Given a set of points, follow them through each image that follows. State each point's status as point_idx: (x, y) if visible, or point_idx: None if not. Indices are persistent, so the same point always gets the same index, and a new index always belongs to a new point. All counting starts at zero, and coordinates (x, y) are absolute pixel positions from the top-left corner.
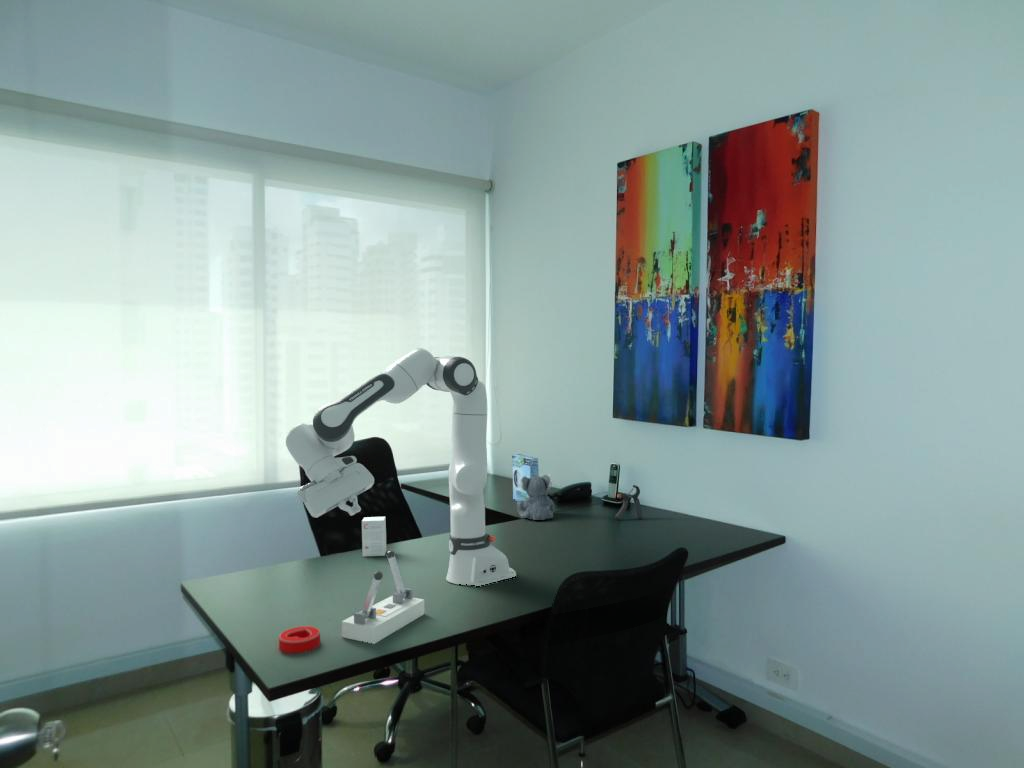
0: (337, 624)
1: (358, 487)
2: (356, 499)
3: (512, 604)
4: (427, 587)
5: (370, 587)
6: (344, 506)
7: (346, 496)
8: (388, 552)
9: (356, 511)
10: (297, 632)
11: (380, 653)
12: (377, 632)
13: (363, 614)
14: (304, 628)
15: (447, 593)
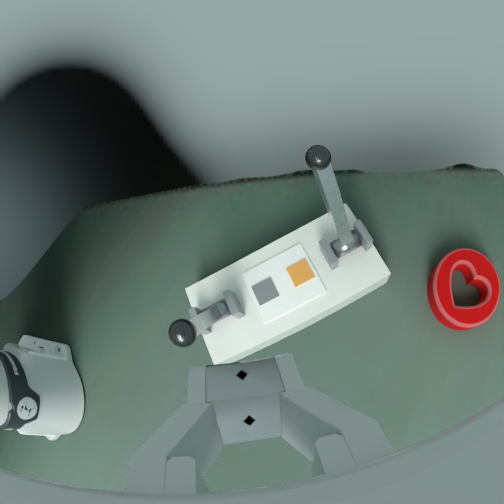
0: (369, 356)
1: (22, 496)
2: (162, 438)
3: (87, 244)
4: (120, 419)
5: (338, 188)
6: (349, 411)
7: (285, 483)
8: (186, 330)
9: (244, 363)
10: (468, 306)
11: (349, 179)
12: None
13: (357, 221)
14: (456, 307)
15: (112, 362)
